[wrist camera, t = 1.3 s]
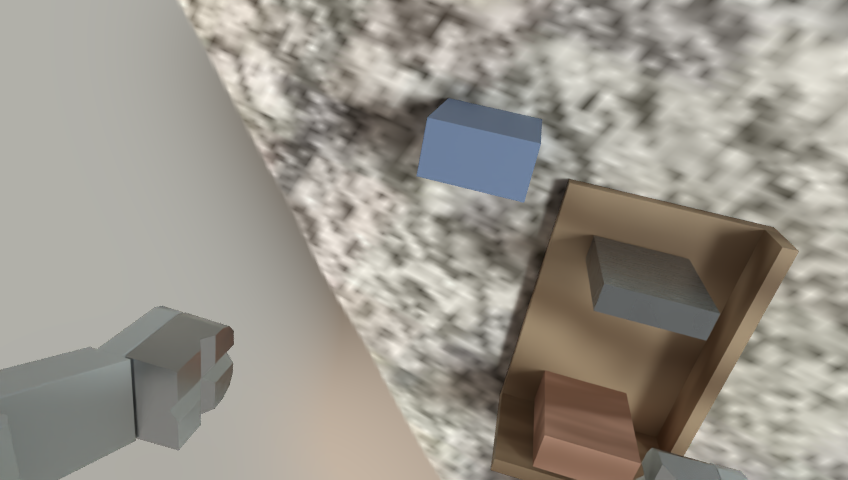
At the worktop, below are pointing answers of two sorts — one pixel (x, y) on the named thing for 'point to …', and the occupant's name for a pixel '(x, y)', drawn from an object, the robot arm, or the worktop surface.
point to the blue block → (480, 149)
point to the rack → (626, 341)
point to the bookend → (649, 288)
